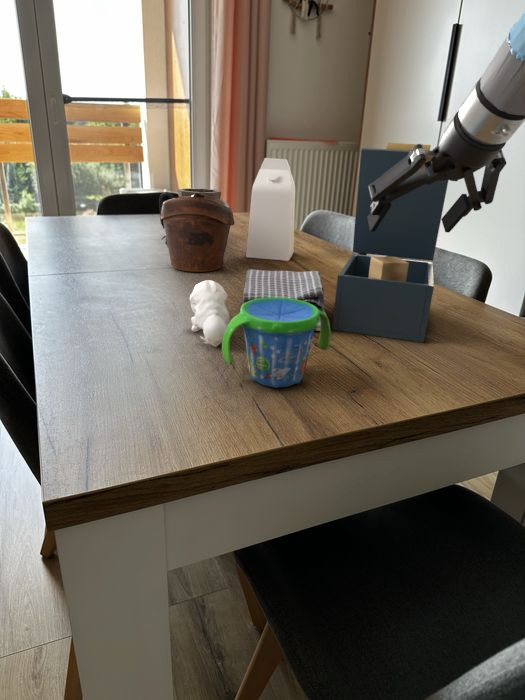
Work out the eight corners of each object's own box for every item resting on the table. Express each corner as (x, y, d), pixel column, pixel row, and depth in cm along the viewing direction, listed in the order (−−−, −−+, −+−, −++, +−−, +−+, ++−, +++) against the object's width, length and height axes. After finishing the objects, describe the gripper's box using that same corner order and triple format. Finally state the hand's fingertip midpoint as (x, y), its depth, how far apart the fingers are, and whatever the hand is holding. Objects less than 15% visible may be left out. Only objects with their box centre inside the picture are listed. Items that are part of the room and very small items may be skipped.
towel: (318, 303, 106) (321, 265, 103) (327, 334, 89) (331, 290, 86) (244, 299, 106) (246, 261, 103) (239, 330, 89) (240, 286, 86)
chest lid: (453, 154, 88) (454, 137, 95) (360, 149, 92) (368, 133, 99) (432, 260, 101) (434, 238, 108) (352, 252, 105) (359, 231, 112)
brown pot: (209, 255, 143) (210, 188, 136) (247, 271, 128) (250, 197, 121) (148, 260, 133) (145, 189, 127) (181, 279, 118) (180, 198, 111)
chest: (423, 342, 87) (434, 286, 84) (331, 329, 91) (337, 275, 88) (424, 310, 105) (432, 262, 101) (347, 300, 109) (352, 253, 105)
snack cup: (232, 401, 65) (234, 325, 61) (212, 367, 74) (212, 299, 70) (343, 388, 70) (351, 317, 66) (311, 358, 79) (317, 294, 75)
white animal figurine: (225, 276, 87) (239, 303, 77) (224, 322, 91) (236, 353, 81) (188, 276, 86) (197, 304, 76) (188, 323, 90) (196, 355, 80)
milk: (293, 252, 152) (300, 159, 142) (288, 260, 142) (295, 160, 132) (253, 249, 154) (257, 157, 144) (246, 257, 143) (249, 157, 134)
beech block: (387, 313, 99) (395, 256, 95) (399, 321, 94) (409, 262, 90) (363, 313, 98) (370, 256, 93) (374, 322, 93) (383, 262, 89)
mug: (222, 236, 171) (223, 189, 165) (218, 244, 159) (218, 193, 153) (164, 233, 171) (162, 186, 166) (154, 240, 159) (153, 190, 153)
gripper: (401, 143, 62) (342, 243, 81) (574, 152, 67) (481, 244, 87) (387, 97, 65) (334, 204, 84) (555, 109, 70) (468, 208, 89)
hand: (408, 225), depth 85 cm, fingers open, 13 cm apart
